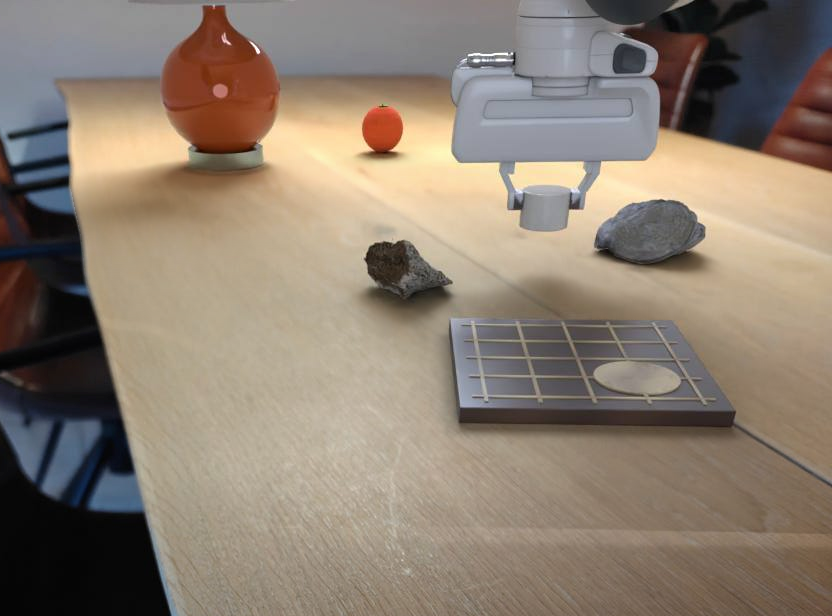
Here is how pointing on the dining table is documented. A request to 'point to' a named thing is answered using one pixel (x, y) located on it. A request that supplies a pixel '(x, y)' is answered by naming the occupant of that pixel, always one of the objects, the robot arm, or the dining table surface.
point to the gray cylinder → (545, 208)
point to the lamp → (219, 89)
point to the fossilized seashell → (650, 231)
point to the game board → (581, 373)
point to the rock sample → (401, 268)
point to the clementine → (382, 128)
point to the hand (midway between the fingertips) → (545, 209)
